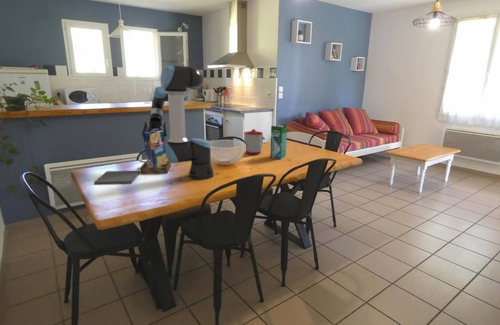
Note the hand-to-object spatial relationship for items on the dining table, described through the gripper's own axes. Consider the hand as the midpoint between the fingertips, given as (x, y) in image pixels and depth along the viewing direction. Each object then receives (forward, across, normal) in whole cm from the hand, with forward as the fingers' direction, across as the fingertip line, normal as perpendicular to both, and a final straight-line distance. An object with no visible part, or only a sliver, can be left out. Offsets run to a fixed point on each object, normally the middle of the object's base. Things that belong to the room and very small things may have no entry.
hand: (153, 144), depth 187 cm
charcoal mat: (+21, +19, -3) cm, 29 cm away
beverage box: (+8, -1, -13) cm, 15 cm away
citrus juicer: (-20, -70, -44) cm, 85 cm away
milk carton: (-10, -87, -35) cm, 94 cm away
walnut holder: (+10, 0, -15) cm, 18 cm away
